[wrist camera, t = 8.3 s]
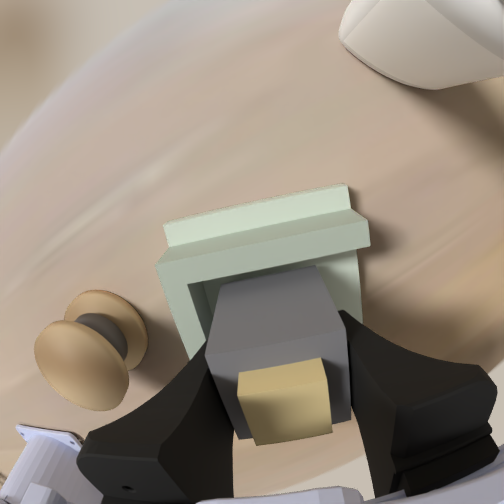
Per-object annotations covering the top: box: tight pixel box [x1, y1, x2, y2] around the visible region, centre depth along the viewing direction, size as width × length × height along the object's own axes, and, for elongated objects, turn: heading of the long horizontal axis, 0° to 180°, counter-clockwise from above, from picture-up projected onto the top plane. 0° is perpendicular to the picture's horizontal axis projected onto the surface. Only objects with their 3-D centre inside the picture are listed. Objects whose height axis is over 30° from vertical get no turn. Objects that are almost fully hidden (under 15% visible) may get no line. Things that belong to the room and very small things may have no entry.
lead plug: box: [205, 265, 351, 446], centre depth 11 cm, size 4×4×6 cm
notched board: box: [155, 183, 371, 360], centre depth 14 cm, size 10×8×3 cm
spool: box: [34, 290, 148, 411], centre depth 14 cm, size 5×5×4 cm
